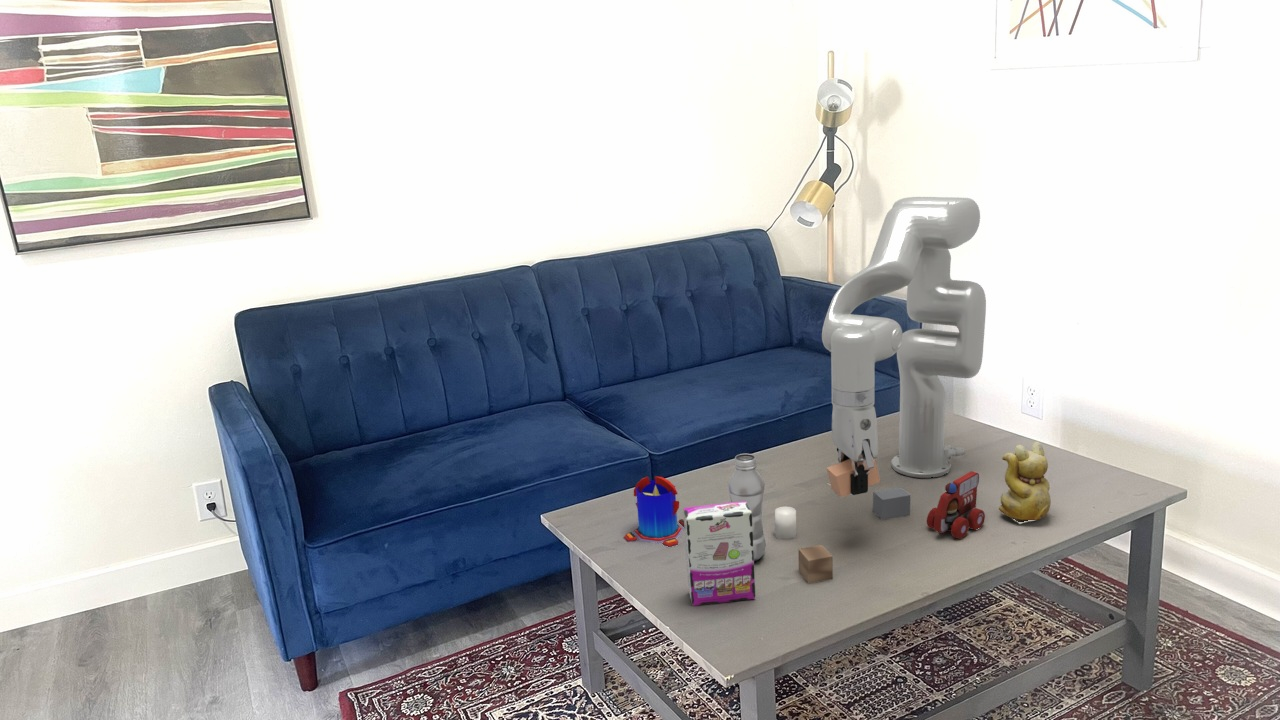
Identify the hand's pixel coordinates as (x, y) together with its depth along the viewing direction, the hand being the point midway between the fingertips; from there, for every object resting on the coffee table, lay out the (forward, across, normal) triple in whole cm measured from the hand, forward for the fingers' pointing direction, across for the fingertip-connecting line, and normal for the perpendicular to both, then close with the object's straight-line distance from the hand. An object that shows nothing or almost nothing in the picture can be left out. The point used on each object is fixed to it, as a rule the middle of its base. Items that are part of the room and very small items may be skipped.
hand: (853, 487), depth 170 cm
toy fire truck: (+12, -2, -20) cm, 24 cm away
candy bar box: (+11, -10, +30) cm, 33 cm away
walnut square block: (+11, -8, +12) cm, 18 cm away
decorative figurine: (+12, -2, -35) cm, 38 cm away
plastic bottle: (+11, +2, +21) cm, 24 cm away
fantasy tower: (+11, +18, +34) cm, 40 cm away
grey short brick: (+12, +8, -12) cm, 19 cm away
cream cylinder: (+11, +8, +11) cm, 17 cm away
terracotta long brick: (0, 0, 0) cm, 1 cm away
